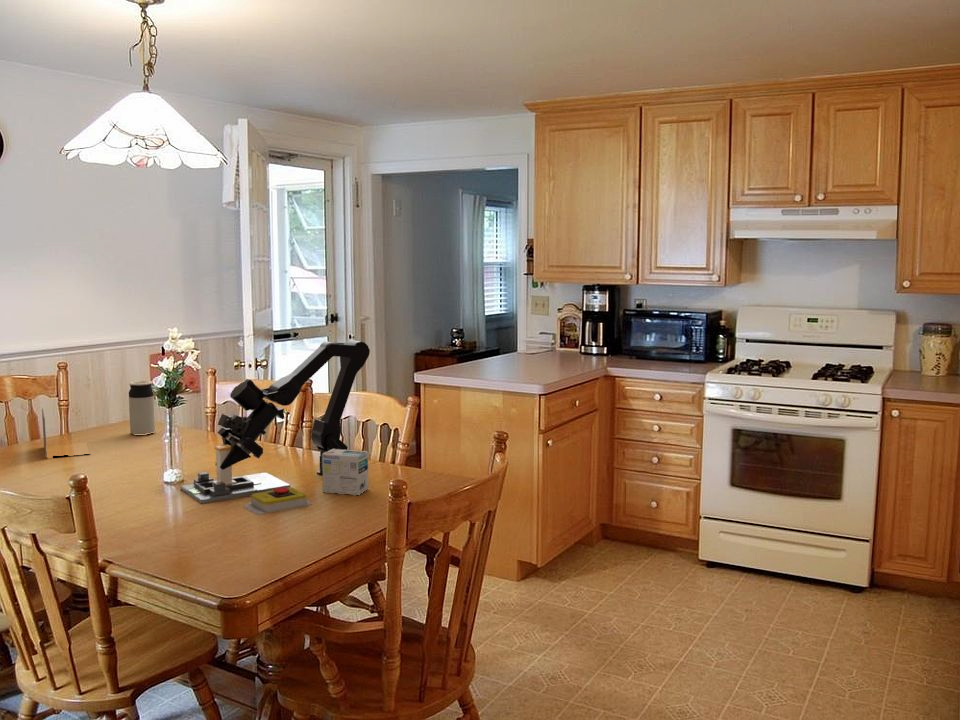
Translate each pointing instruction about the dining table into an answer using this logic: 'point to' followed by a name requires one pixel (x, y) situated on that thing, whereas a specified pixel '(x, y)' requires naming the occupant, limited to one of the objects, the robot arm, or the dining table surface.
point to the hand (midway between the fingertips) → (218, 467)
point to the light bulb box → (345, 471)
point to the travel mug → (141, 407)
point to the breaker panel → (231, 487)
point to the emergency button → (276, 500)
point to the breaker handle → (220, 456)
